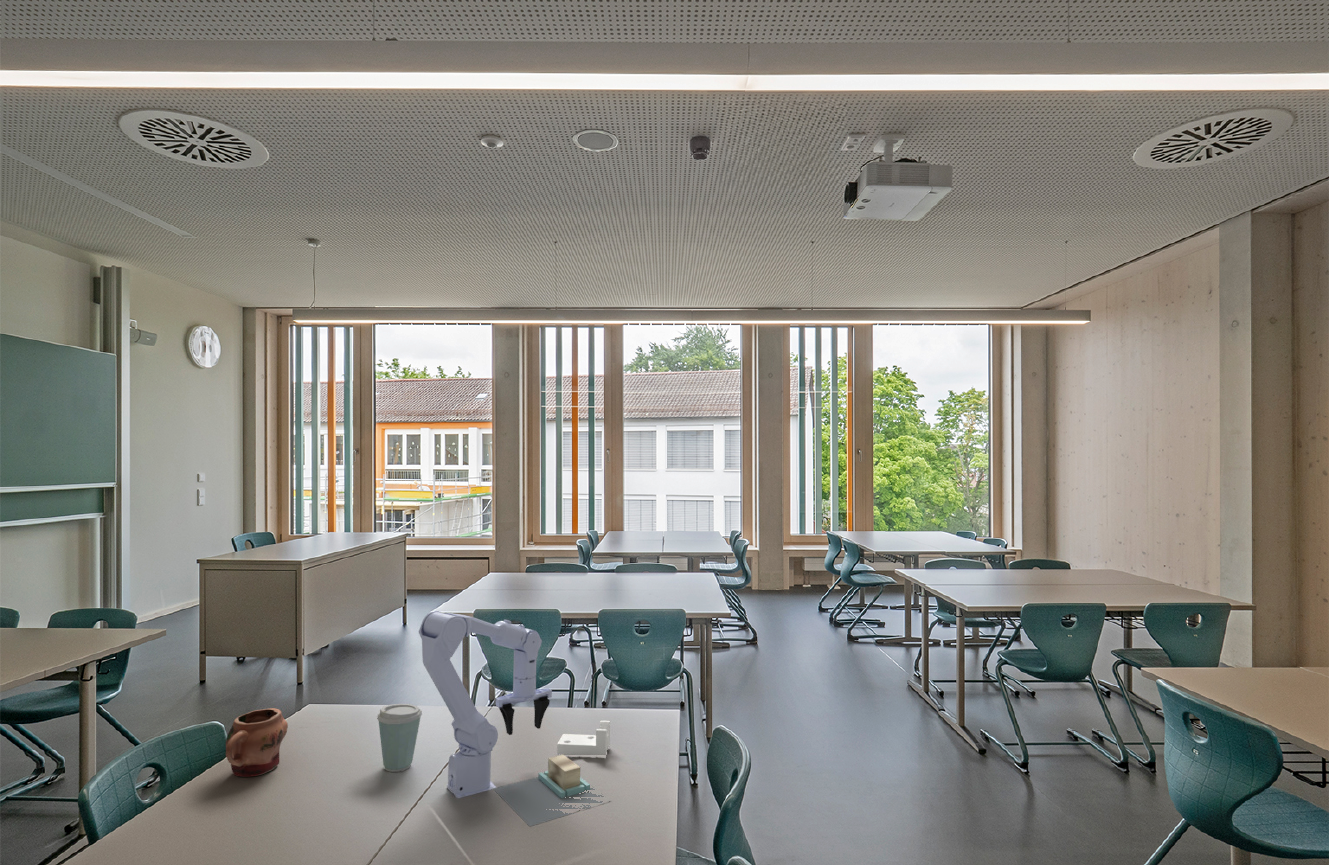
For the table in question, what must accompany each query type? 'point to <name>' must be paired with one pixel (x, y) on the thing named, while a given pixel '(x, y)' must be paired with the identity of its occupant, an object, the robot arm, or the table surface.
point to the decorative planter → (255, 742)
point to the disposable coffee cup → (398, 735)
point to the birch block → (563, 772)
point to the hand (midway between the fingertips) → (523, 730)
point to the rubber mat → (539, 800)
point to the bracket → (586, 742)
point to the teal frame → (560, 791)
